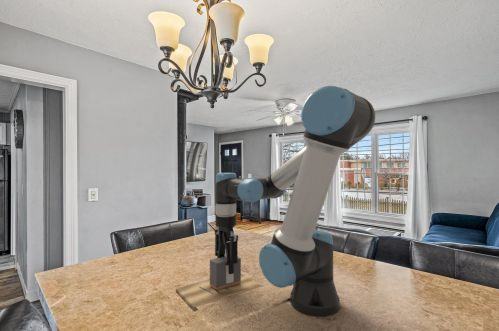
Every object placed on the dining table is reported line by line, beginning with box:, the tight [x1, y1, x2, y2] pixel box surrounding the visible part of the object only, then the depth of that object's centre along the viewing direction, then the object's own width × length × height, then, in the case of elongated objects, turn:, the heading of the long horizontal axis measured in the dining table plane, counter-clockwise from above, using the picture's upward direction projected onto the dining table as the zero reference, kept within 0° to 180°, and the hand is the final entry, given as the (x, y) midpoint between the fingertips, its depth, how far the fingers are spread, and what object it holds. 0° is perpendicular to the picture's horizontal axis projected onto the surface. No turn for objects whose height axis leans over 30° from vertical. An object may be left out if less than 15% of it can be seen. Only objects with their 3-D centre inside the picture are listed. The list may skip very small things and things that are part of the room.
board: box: [175, 273, 263, 311], centre depth 93 cm, size 16×26×1 cm, turn 125°
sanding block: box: [209, 256, 242, 290], centre depth 94 cm, size 10×5×9 cm, turn 125°
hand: (225, 279), depth 94 cm, fingers closed on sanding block, 5 cm apart
